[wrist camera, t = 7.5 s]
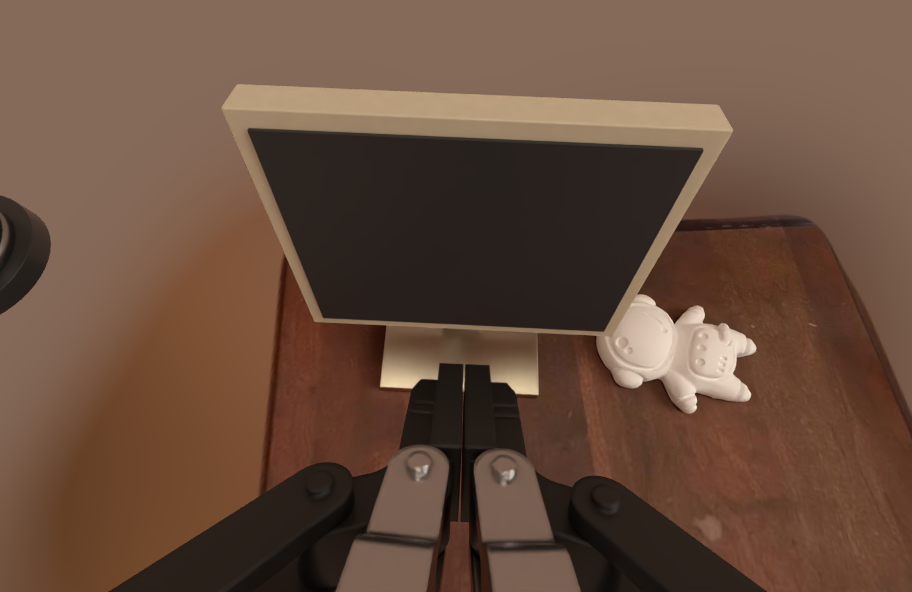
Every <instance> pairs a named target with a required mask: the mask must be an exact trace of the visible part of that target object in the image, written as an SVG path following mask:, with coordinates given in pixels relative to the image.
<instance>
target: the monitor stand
mask: <svg viewBox="0 0 912 592" xmlns="http://www.w3.org/2000/svg"><path fill="white" fill-rule="evenodd" d="M439 363H451V364H463V394H464V383H465V365H466V364H476V365H490V375H491V382H504V383H508V385H509V386H510V387H511V388H512V389H513V391H514V392H515V393H516V397H525V398H536V397H537V396H538V395H539V386H538V343H537V333H533V332H512V331H492V330H471V329H451V328H430V327H410V326H389V325H386V334H385V343H384V351H383V360H382V369H381V378H380V386H379V387H380V388H381V390H387V391H406V392H411V390H412V388H413V387H414V386H415V385H416V384H417V383H418V382H419V381H420V379H434V380H438V371H439Z"/></svg>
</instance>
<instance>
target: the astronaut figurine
mask: <svg viewBox="0 0 912 592" xmlns="http://www.w3.org/2000/svg"><path fill="white" fill-rule="evenodd" d="M655 305H656V303H655V302H654V300H653V299H651V298H650V297H648V296H646V295H642V294H640V295H636V297H635V298H634V300H633V302H632V304H631V305H630V307H629V309H628V310H627V312H626V314H625V315H624V317H623V319H622V320H621V322H620V324H619V326H618V327H617V329H616V331H615V332H614V334H613V336H596V345H597V350H598V353H599V356H600V358H601V360H602V361H603V363H604V365H605V366H606V367H607V368H608V369H609V370H610V371H611V373H612V375H613V378H614V380H615V382H616V383H617V384H619V385H620V386H622V387H625V388H637V387H639V386H640V385H641V384H642V381H643V382H646V381H651V380H654V379H660V380H661V381H662V382H663V384H664V386H665V389H666V391H667V393H668V395H669V397H670V399H671V400H672V402H673V403H674V404H675V405H676V406H677V407H678V408H679V409H681V410H682V411H683V412H684V413H687V414H691V413H693V412H694V411H695V410H696V409H697V406H696V403H697V398H696V396H695V393H700V394H703V395H707V396H710V397H712V398H714V399H722V400H727V401H748V400H749V399H750V397H751V393H750V391H749V390H748V388H747V386H746V385H745V384H743V383H741V382H740V380H739V379H738V378H736V377H735V376H734V375H733V371H734V369H735V367H736V359H737V357H743V356H747V355H751V354H753V353H754V352H755V351H756V346H755V344H754V343H753V341H752V340H751V339H748V338H746V337H745V335H744V334H741V333H739V332H737V331H734V330H731V329H729V327H728V325H727V324H725V323H721V324H720V325H719V326H716V325H712V324H703V319H704V317H705V313H704V310H703V308H702V307H700V306H694V307H691V308H689V309H688V310H687V311H686V312H684V313H683V314H682V315H681V317H680V318H679V319H678V320H677V321H676V323H675V324H674V323H673V321H672V319H671V318H670V316H669V315H668V314H667V313H666V312H665V311H663V310H662V309H660V308H659V307H657V306H655Z"/></svg>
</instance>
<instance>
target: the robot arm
mask: <svg viewBox="0 0 912 592" xmlns="http://www.w3.org/2000/svg"><path fill="white" fill-rule="evenodd" d="M14 243H15V231H14V227H13V224H12V222H11V220H10V219H9V218H8V217H7V215H5V214H4V213H3V212H1V211H0V271H1V270H2V268H3V267H4V266H5V264H6V263H7V261H8V259H9V257H10V255H11V253H12V250H13V247H14ZM462 409H463V430H462ZM461 451H462V481H461V522H469V548H468V557H469V570H470V583H471V592H767V591H765V590H764V589H763V588H761V587H760V586H759V585H757V584H756V583H754V582H753V581H752V580H750V579H749V578H748V577H746V576H745V575H744V574H742V573H741V572H740V571H738V570H737V569H736V568H734V567H733V566H731V565H730V564H729V563H727V562H726V561H725V560H723V559H722V558H721V557H719V556H718V555H717V554H715V553H714V552H712V551H711V550H710V549H708V548H707V547H706V546H704V545H703V544H702V543H700V542H699V541H698V540H696V539H695V538H694V537H692V536H691V535H689V534H688V533H687V532H685V531H684V530H683V529H681V528H680V527H679V526H677V525H676V524H675V523H673V522H672V521H671V520H669V519H668V518H666V517H665V516H664V515H662V514H661V513H660V512H658V511H657V510H656V509H654V508H653V507H652V506H650V505H649V504H647V503H646V502H645V501H643V500H642V499H641V498H639V497H638V496H637V495H635V494H634V493H633V492H631V491H630V490H629V489H627V488H626V487H624V486H623V485H621V484H620V483H618V482H616V481H614V480H612V479H609V478H606V477H601V476H588V477H584V478H581V479H580V480H578V481H577V482H576V483H575V484H574V485H573V488H572V487H569V486H566V485H563V484H559V483H556V482H553V481H551V480H549V479H547V478H545V477H543V476H542V475H540V474H539V473H538V472H536V471H535V470H534V467H533V465H532V464H531V462H530V461H529V460H528V459H527V456H526V451H525V445H524V439H523V433H522V427H521V422H520V418H519V410H518V404H517V398H516V393H515V392H514V391H513V389H512V388H511V387H510V386H509V385H508V383H504V382H491V375H490V365H476V364H466V365H465V383H464V403H463V364H451V363H439V371H438V380H434V379H420V381H419V382H418V383H417V384H416V385H415V386H414V387H413V388H412V390H411V395H410V400H409V405H408V409H407V414H406V419H405V424H404V429H403V434H402V438H401V443H400V448H399V451H398V452H396V453H395V454H394V455H393V456H392V458H391V459H390V461H389V464H388V466H386V467H385V468H383V469H381V470H379V471H376V472H374V473H370V474H366V475H361V476H356V477H352V475H351V473H350V472H349V470H348V469H347V468H345V467H344V466H342V465H339V464H336V463H329V462H326V463H317V464H314V465H311V466H308V467H306V468H304V469H302V470H301V471H299V472H297V473H296V474H294V475H293V476H291V477H290V478H288V479H286V480H285V481H283V482H282V483H280V484H278V485H277V486H275V487H274V488H272V489H271V490H269V491H267V492H266V493H264V494H263V495H261V496H259V497H258V498H256V499H255V500H253V501H252V502H250V503H248V504H247V505H245V506H244V507H242V508H240V509H239V510H238V511H236V512H234V513H233V514H231V515H230V516H228V517H226V518H225V519H223V520H221V521H220V522H218V523H217V524H215V525H214V526H212V527H210V528H209V529H207V530H206V531H204V532H202V533H201V534H199V535H198V536H196V537H195V538H193V539H191V540H190V541H188V542H187V543H185V544H184V545H182V546H180V547H179V548H177V549H176V550H174V551H172V552H171V553H169V554H168V555H166V556H164V557H163V558H161V559H160V560H158V561H157V562H155V563H153V564H152V565H150V566H149V567H147V568H145V569H144V570H142V571H141V572H139V573H138V574H136V575H134V576H133V577H131V578H130V579H128V580H126V581H125V582H123V583H122V584H120V585H119V586H117V587H115V588H114V589H112V590H111V591H109V592H441V587H442V580H443V572H444V565H445V557H446V546H447V544H448V541H449V536H450V521H454V522H458V511H459V491H460V471H461Z"/></svg>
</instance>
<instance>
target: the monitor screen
mask: <svg viewBox="0 0 912 592" xmlns="http://www.w3.org/2000/svg"><path fill="white" fill-rule="evenodd" d="M221 109H222V112H223V114H224V117H225V119H226V121H227V123H228V126H229V128H230V130H231V133H232V135H233V137H234V139H235V141H236V144H237V146H238V149H239V151H240V153H241V155H242V158H243V160H244V162H245V164H246V167H247V169H248V171H249V174H250V176H251V178H252V180H253V183H254V185H255V187H256V189H257V192H258V194H259V196H260V199H261V201H262V203H263V205H264V208H265V210H266V212H267V215H268V217H269V219H270V221H271V224H272V226H273V228H274V231H275V233H276V235H277V237H278V240H279V242H280V244H281V247H282V249H283V251H284V253H285V256H286V258H287V260H288V263H289V265H290V267H291V269H292V272H293V274H294V276H295V279H296V281H297V283H298V285H299V288H300V290H301V292H302V295H303V297H304V299H305V301H306V304H307V306H308V308H309V310H310V313H311V315H312V317H313V320H314V322H328V323H348V324H369V325H389V326H410V327H430V328H451V329H471V330H492V331H512V332H533V333H553V334H574V335H594V336H613V334H614V332H615V331H616V329H617V327H618V326H619V324H620V322H621V320H622V319H623V317H624V315H625V314H626V312H627V310H628V309H629V307H630V305H631V304H632V302H633V300H634V298H635V297H636V295H637V293H638V292H639V290H640V288H641V287H642V285H643V283H644V281H645V280H646V278H647V276H648V275H649V273H650V271H651V270H652V268H653V266H654V264H655V263H656V261H657V259H658V258H659V256H660V254H661V253H662V251H663V249H664V247H665V246H666V244H667V242H668V241H669V239H670V237H671V236H672V234H673V232H674V230H675V229H676V227H677V225H678V224H679V222H680V220H681V219H682V217H683V215H684V214H685V212H686V210H687V208H688V207H689V205H690V203H691V201H692V200H693V198H694V197H695V195H696V193H697V191H698V190H699V188H700V186H701V185H702V183H703V181H704V179H705V178H706V176H707V174H708V173H709V171H710V169H711V168H712V166H713V164H714V163H715V161H716V159H717V157H718V156H719V154H720V152H721V151H722V149H723V147H724V146H725V144H726V142H727V140H728V139H729V137H730V135H731V134H732V132H733V129H732V127H731V126H730V124H729V122H728V120H727V119H726V117H725V115H724V114H723V112H722V110H721V108H720V107H719V105H709V104H708V105H707V104H686V103H685V104H684V103H661V102H639V101H616V100H615V101H613V100H593V99H569V98H546V97H523V96H499V95H476V94H452V93H429V92H406V91H382V90H360V89H359V90H358V89H336V88H335V89H334V88H313V87H290V86H267V85H266V86H265V85H243V84H237V85H236V86H235V88H234V89H233V91H232V92H231V94H230V96H229V97H228V98H227V100H226V101H225V103H224V104H223V106H222V107H221Z"/></svg>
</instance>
